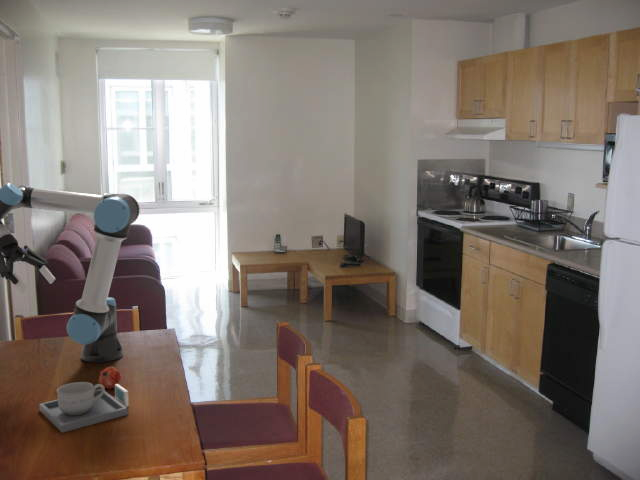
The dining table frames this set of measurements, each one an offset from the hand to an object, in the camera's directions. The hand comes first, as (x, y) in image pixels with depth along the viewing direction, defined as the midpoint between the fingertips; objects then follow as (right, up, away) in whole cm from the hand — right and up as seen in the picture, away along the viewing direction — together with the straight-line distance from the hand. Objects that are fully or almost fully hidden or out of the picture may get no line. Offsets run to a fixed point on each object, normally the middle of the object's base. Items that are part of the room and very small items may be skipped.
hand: (39, 285), depth 239 cm
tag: (+34, -36, -18) cm, 53 cm away
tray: (+24, -38, -26) cm, 52 cm away
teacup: (+24, -37, -26) cm, 51 cm away
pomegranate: (+26, -34, -5) cm, 44 cm away
